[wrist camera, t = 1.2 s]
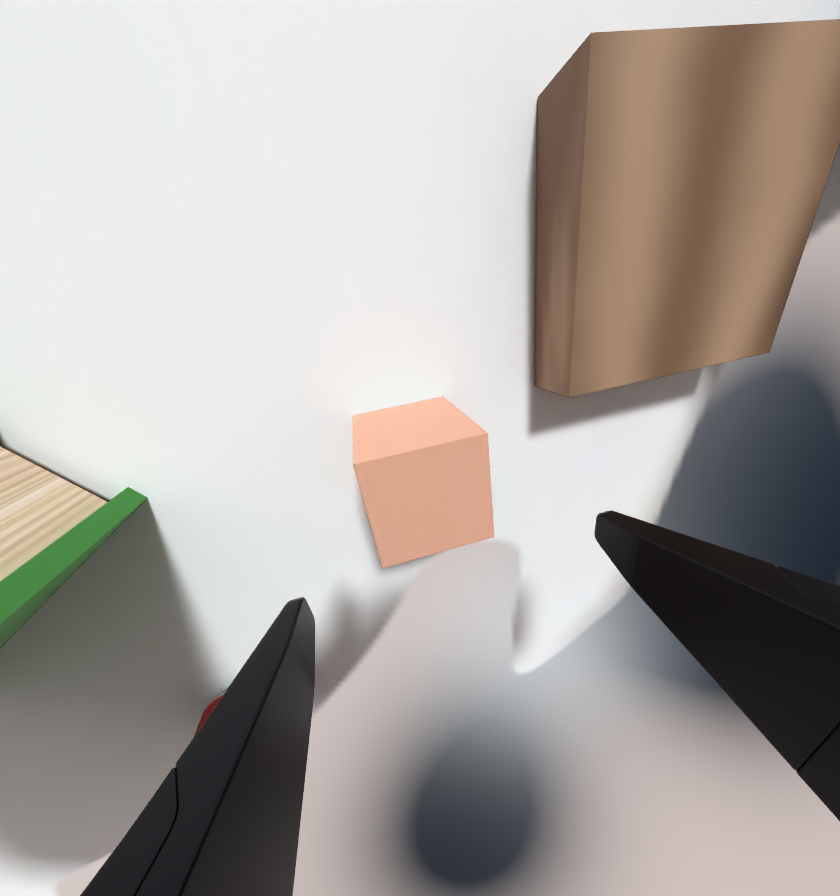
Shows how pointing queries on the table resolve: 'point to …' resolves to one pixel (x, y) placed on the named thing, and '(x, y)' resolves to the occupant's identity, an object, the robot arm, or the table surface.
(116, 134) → the table surface
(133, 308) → the table surface
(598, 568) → the table surface
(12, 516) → the hardback book
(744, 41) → the walnut base
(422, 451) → the terracotta block
